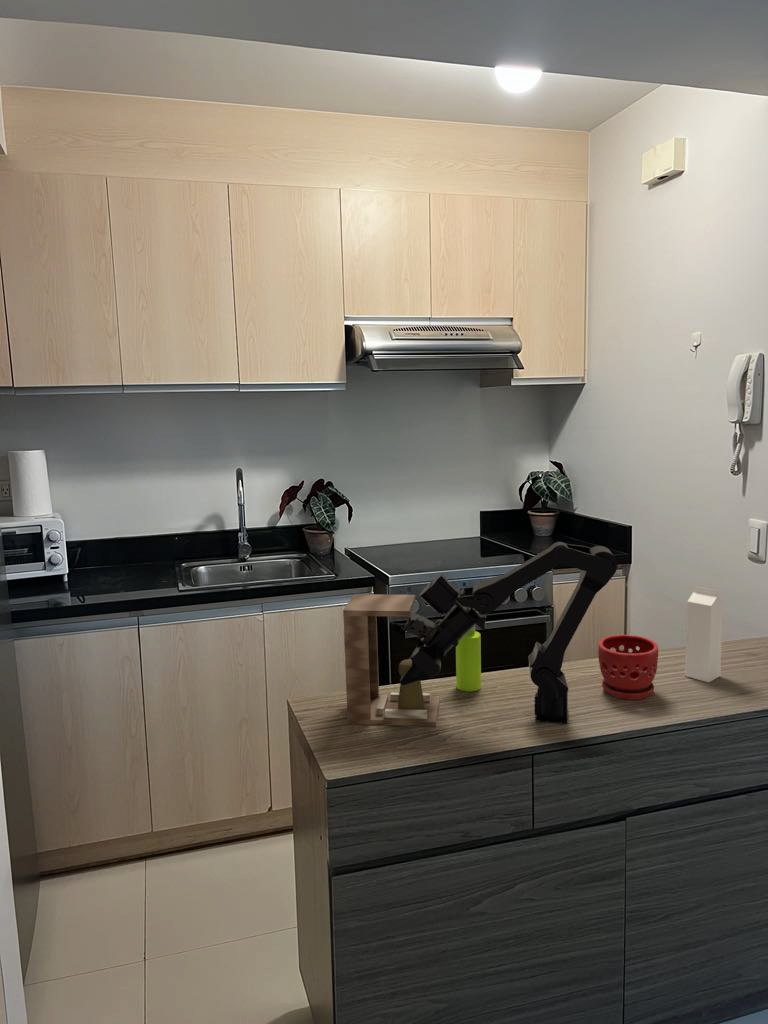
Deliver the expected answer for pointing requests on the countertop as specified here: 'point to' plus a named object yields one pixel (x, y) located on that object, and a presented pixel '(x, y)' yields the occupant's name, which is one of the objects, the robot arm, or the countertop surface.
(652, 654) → the plant pot
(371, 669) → the wooden stand
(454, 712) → the countertop surface
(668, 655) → the countertop surface
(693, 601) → the milk
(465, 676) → the soap dispenser
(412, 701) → the cork
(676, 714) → the countertop surface
